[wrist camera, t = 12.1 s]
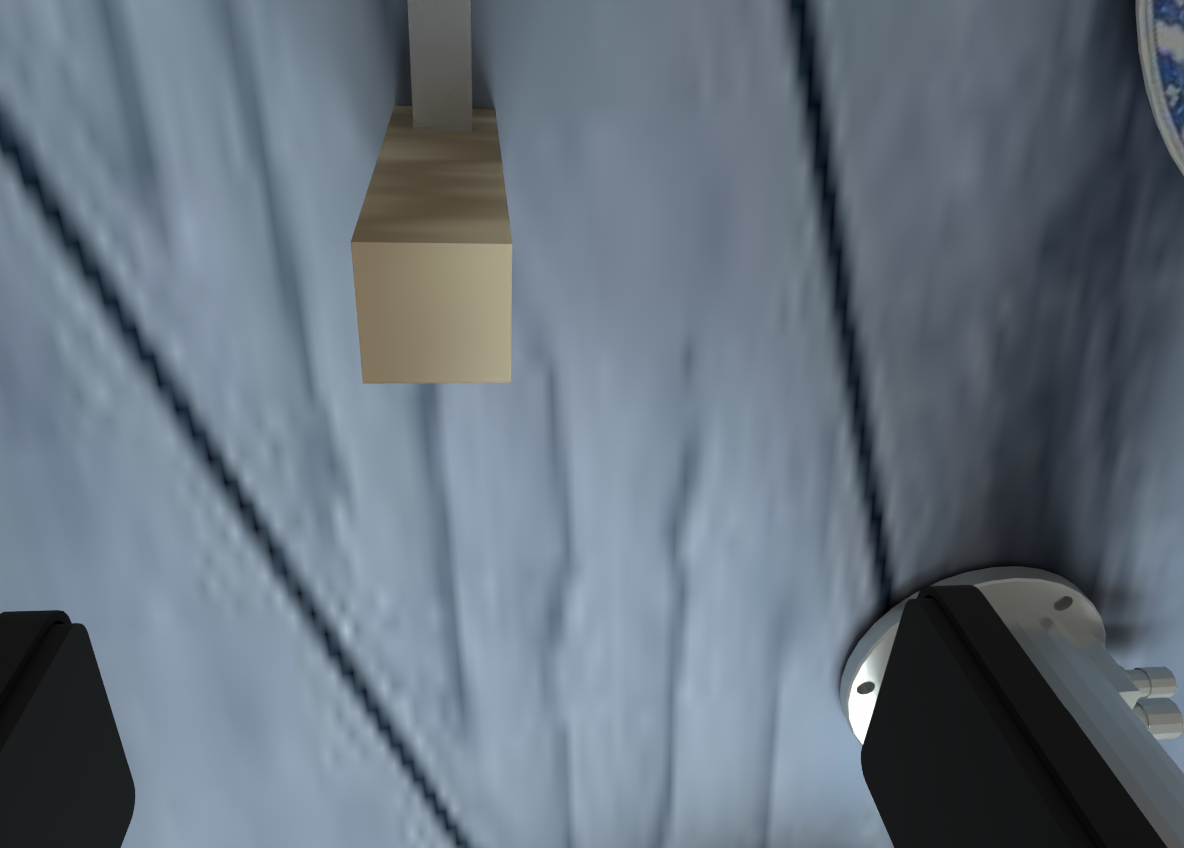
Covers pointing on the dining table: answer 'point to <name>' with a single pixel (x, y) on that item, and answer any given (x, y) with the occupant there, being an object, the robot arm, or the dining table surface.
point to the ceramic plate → (1164, 68)
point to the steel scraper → (436, 223)
